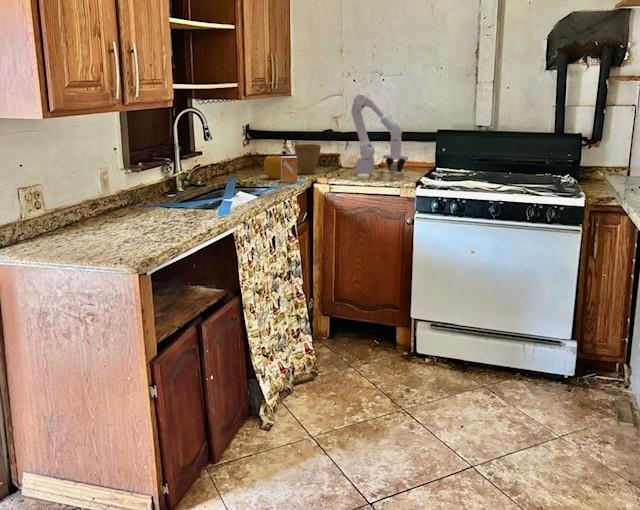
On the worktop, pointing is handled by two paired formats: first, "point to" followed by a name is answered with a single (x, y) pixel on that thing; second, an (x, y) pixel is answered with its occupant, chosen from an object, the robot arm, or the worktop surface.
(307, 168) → the plant pot
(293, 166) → the small box
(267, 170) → the mustard rounded block
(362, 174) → the pale grey block
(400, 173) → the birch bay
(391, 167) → the slate plug
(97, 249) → the worktop surface
